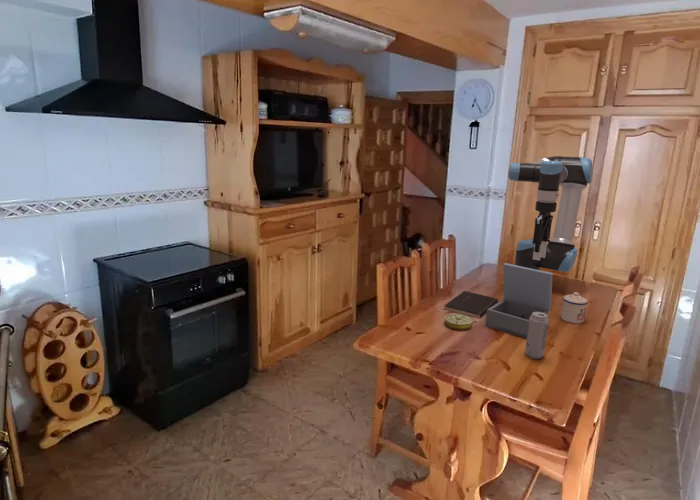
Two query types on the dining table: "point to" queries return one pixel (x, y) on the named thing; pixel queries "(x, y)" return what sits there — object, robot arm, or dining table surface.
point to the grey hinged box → (511, 317)
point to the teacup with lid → (573, 308)
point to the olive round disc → (458, 321)
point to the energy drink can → (536, 335)
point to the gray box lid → (528, 286)
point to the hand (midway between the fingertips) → (538, 258)
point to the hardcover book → (471, 304)
